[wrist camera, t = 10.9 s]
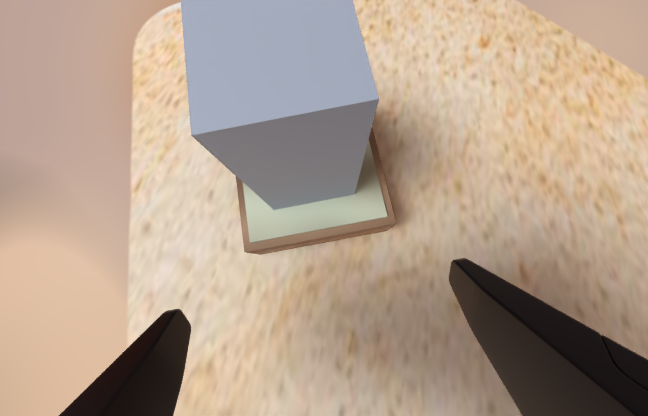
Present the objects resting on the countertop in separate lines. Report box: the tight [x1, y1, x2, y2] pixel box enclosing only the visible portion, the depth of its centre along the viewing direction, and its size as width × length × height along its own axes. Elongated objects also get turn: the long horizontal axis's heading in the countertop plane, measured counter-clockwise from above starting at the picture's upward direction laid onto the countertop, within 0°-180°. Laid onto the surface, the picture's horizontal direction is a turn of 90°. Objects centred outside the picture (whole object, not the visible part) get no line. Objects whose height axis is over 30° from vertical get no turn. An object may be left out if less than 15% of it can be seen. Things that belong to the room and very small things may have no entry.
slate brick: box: [181, 0, 379, 210], centre depth 13 cm, size 5×5×10 cm
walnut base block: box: [236, 128, 396, 254], centre depth 20 cm, size 10×10×4 cm
